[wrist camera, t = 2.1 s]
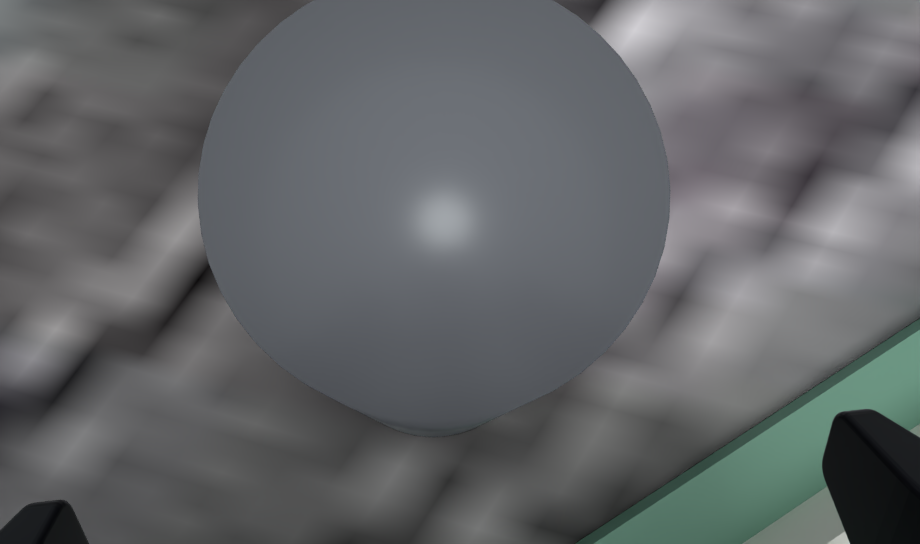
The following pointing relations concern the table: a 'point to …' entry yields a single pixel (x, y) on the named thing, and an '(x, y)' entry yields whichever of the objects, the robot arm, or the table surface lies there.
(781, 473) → the header board
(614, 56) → the plug
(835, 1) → the table surface
